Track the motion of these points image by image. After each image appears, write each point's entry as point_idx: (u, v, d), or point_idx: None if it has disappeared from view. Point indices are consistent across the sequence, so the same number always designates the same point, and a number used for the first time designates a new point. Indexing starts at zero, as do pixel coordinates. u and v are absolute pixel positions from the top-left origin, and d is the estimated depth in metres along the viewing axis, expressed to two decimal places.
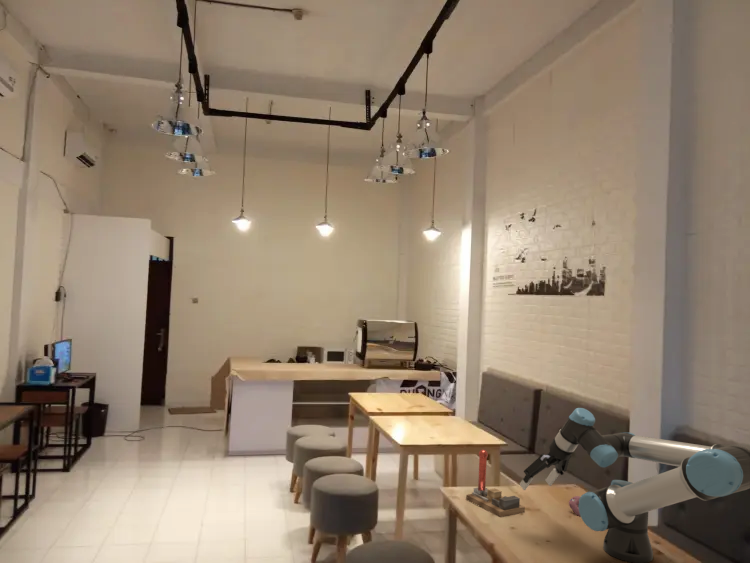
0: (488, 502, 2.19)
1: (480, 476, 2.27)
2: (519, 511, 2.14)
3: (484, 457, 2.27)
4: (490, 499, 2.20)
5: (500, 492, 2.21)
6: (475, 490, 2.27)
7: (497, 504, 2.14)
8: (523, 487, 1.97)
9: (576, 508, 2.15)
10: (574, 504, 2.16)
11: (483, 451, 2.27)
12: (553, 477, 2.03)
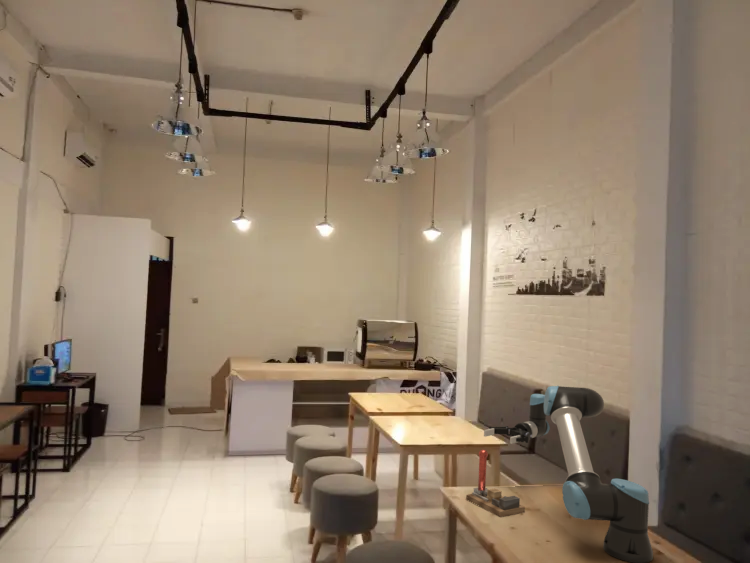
0: (488, 502, 2.19)
1: (480, 476, 2.27)
2: (519, 511, 2.14)
3: (484, 457, 2.27)
4: (490, 499, 2.20)
5: (500, 492, 2.21)
6: (475, 490, 2.27)
7: (497, 504, 2.14)
8: None
9: None
10: None
11: (483, 451, 2.27)
12: None
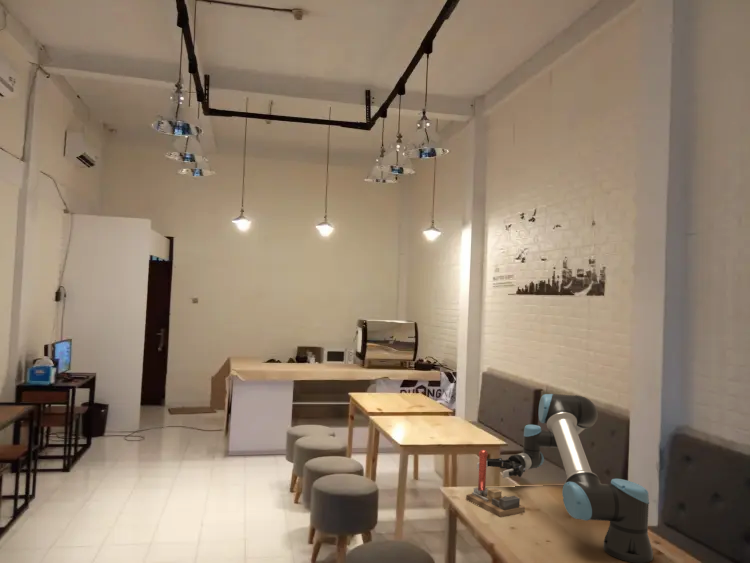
0: (488, 502, 2.19)
1: (480, 476, 2.27)
2: (519, 511, 2.14)
3: (484, 457, 2.27)
4: (490, 499, 2.20)
5: (500, 492, 2.21)
6: (475, 490, 2.27)
7: (497, 504, 2.14)
8: None
9: None
10: None
11: (483, 451, 2.27)
12: None
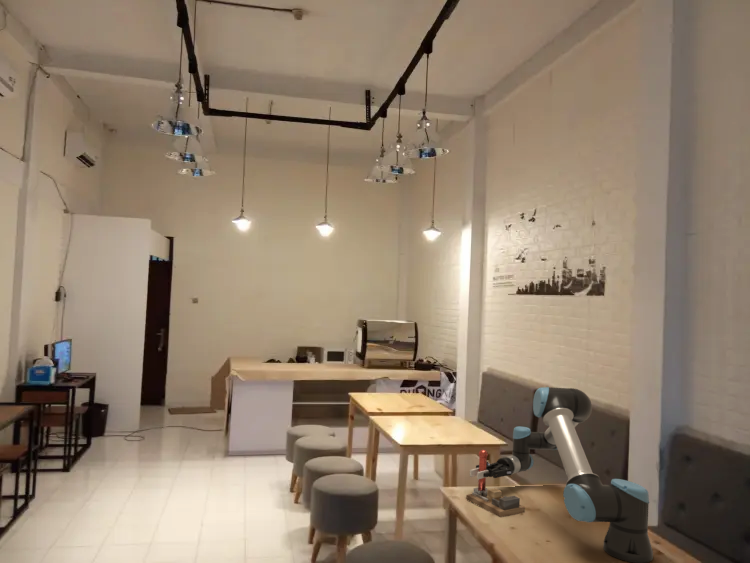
0: (488, 502, 2.19)
1: None
2: (519, 511, 2.14)
3: (484, 457, 2.27)
4: (490, 499, 2.20)
5: (500, 492, 2.21)
6: (475, 490, 2.27)
7: (497, 504, 2.14)
8: None
9: None
10: None
11: (483, 451, 2.27)
12: None
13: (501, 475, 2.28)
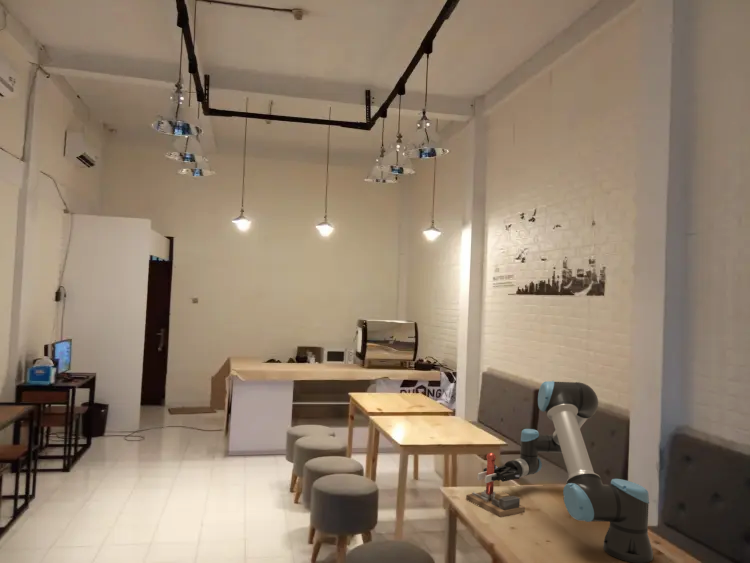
0: (488, 502, 2.19)
1: None
2: (519, 511, 2.14)
3: (492, 460, 2.23)
4: None
5: (508, 496, 2.17)
6: (483, 494, 2.23)
7: (497, 504, 2.14)
8: None
9: None
10: None
11: (491, 454, 2.23)
12: None
13: (509, 479, 2.24)
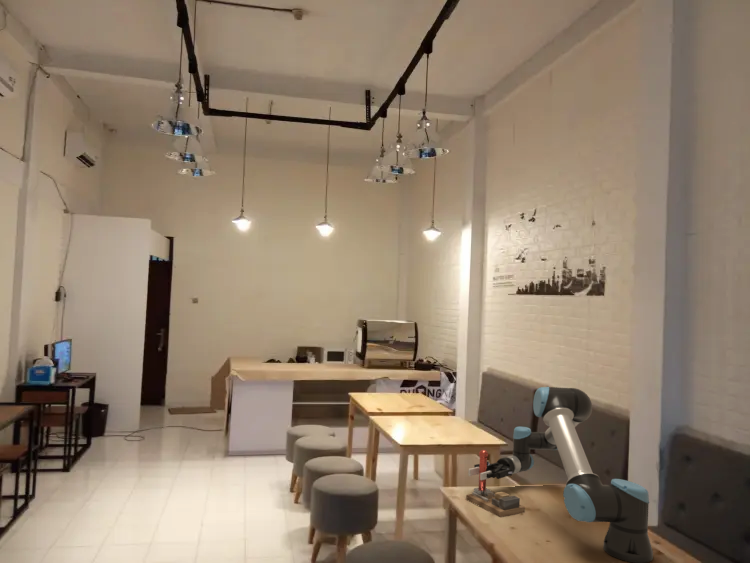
0: (488, 502, 2.19)
1: None
2: (519, 511, 2.14)
3: (484, 457, 2.27)
4: None
5: (508, 496, 2.17)
6: (475, 490, 2.27)
7: (497, 504, 2.14)
8: None
9: None
10: None
11: (483, 451, 2.27)
12: None
13: (503, 476, 2.27)
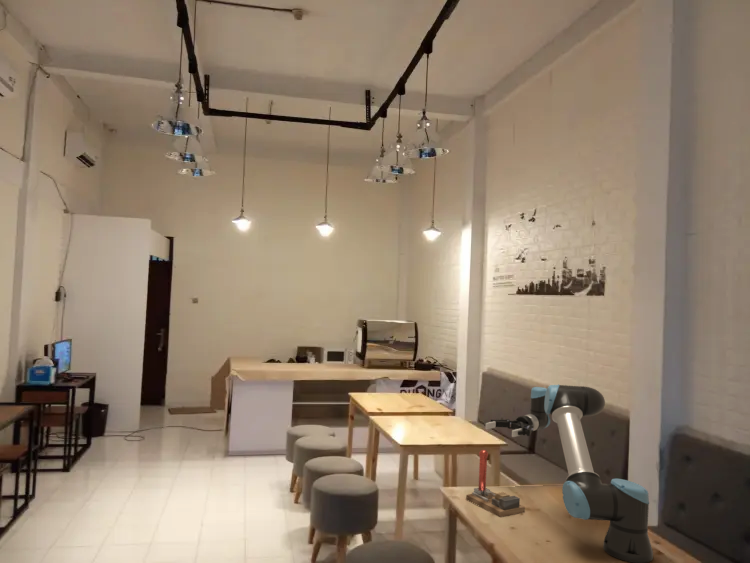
0: (488, 502, 2.19)
1: (480, 476, 2.27)
2: (519, 511, 2.14)
3: (484, 457, 2.27)
4: None
5: (508, 496, 2.17)
6: (475, 490, 2.27)
7: (497, 504, 2.14)
8: None
9: None
10: None
11: (483, 451, 2.27)
12: None
13: (530, 432, 2.36)
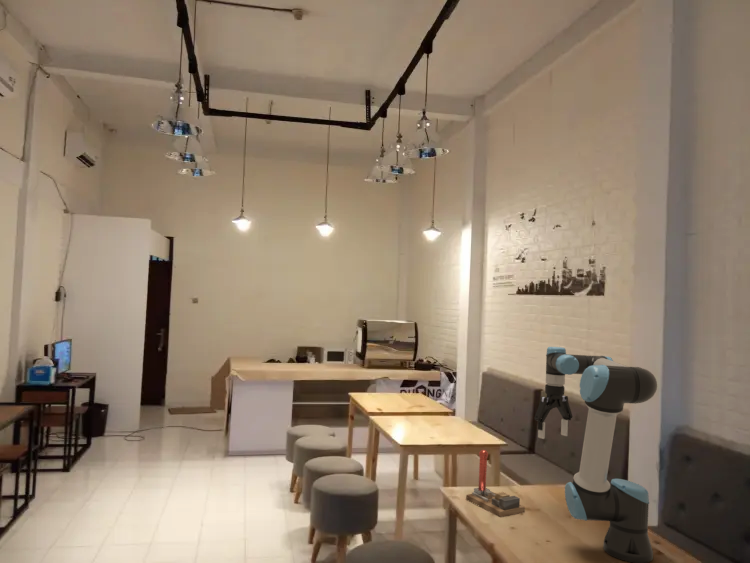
0: (488, 502, 2.19)
1: (480, 476, 2.27)
2: (519, 511, 2.14)
3: (484, 457, 2.27)
4: None
5: (508, 496, 2.17)
6: (475, 490, 2.27)
7: (497, 504, 2.14)
8: (541, 436, 2.19)
9: None
10: None
11: (483, 451, 2.27)
12: (565, 426, 2.26)
13: None
